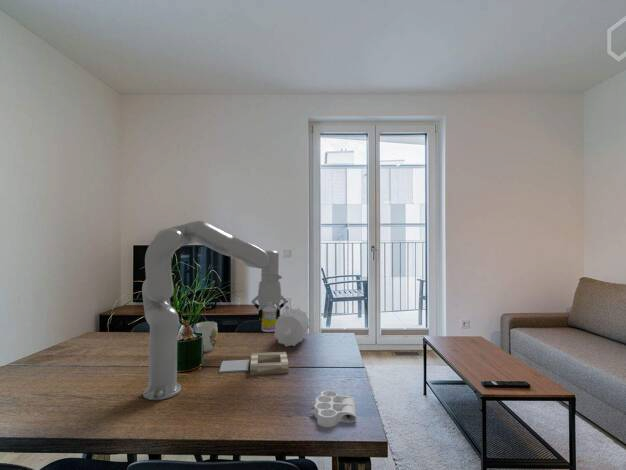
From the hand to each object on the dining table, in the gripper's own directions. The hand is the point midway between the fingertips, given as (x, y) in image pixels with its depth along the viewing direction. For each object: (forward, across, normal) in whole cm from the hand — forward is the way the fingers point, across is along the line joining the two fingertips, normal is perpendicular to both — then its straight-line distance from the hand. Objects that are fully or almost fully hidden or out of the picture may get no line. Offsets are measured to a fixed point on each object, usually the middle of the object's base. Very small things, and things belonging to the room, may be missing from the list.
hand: (269, 318), depth 146 cm
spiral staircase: (+21, -13, -35) cm, 43 cm away
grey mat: (+21, +15, -2) cm, 26 cm away
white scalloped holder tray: (+22, -20, +42) cm, 51 cm away
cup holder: (+21, 0, 0) cm, 21 cm away
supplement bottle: (+5, 0, 0) cm, 5 cm away
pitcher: (+22, +31, -28) cm, 47 cm away
